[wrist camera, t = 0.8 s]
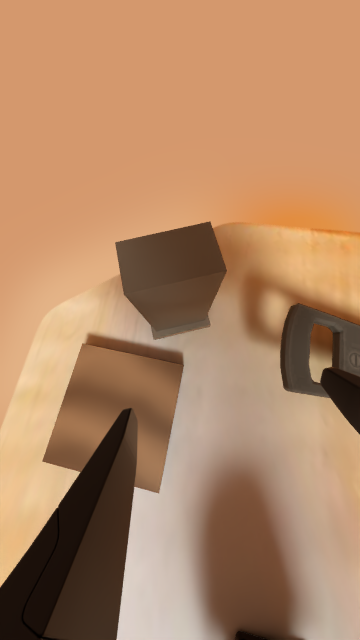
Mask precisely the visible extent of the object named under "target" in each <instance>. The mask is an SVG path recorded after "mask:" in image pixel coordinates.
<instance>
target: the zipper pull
mask: <svg viewBox="0 0 360 640" xmlns="http://www.w3.org/2000/svg"><path fill="white" fill-rule="evenodd" d="M314 323H315V324H318V325H322V326H326V327H328V328H329V329H330V330H331V331H332V332H333V356H332V367H336V368H338V369H341V370H344V371H346V372H349V373H352V374H354V375H357V376H360V325H357V324H355V323H352V322H349V321H346V320H343V319H341V318H338V317H336V316H333V315H330V314H328V313H325V312H322V311H319V310H316V309H313V308H311V307H308V306H305V305H302V304H299V303H298V304H296V305H293V306H291V308H290V310H289V312H288V315H287V317H286V320H285V323H284V328H283V333H282V340H281V351H280V368H281V374H282V380H283V387H284V389H285V390H286V391H290V392H296V393H302V394H308V395H314V396H320V397H327V398H330V397H329V395H328V394H327V393H326V391H325V390H324V389H323V387H322V386H321V383H317V382H314V381H313V380H312V379H311V374H310V368H309V354H310V338H311V331H312V328H313V325H314Z"/></svg>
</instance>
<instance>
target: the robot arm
mask: <svg viewBox="0 0 360 640" xmlns="http://www.w3.org/2000/svg"><path fill="white" fill-rule="evenodd" d="M320 383H321V386H322V387H323V389H324V390H325V391H326V393H327V394H328V395H329V397H330V398H331V399H332V401H333V402H334V403H335V405H336V406H337V407H338V409H339V410H340V412H341V413H342V414H343V415H344V417H345V418H346V419H347V420H348V422H349V423H350V424H351V425H352V426H353V427H354V429H355V430H356V431H357V432H358V433H359V434H360V376H357V375H354V374H352V373H349V372H346V371H344V370H341V369H338V368H336V367H329V368H325V369H324V370H323V372H322V376H321V380H320ZM137 441H138V420H137V417H136V415H135V412H134V410H133V408H126V409H123V410H122V411H121V413H120V414H119V416H118V417H117V419H116V420H115V422H114V423H113V425H112V426H111V428H110V429H109V431H108V432H107V434H106V435H105V437H104V438H103V440H102V441H101V443H100V444H99V446H98V447H97V449H96V450H95V451H94V453H93V454H92V456H91V457H90V459H89V460H88V462H87V463H86V465H85V466H84V468H83V469H82V471H81V472H80V474H79V475H78V477H77V478H76V480H75V481H74V483H73V484H72V486H71V487H70V489H69V490H68V492H67V493H66V495H65V496H64V498H63V499H62V501H61V502H60V504H59V506H58V508H56V510H55V511H54V512H53V514H52V515H51V517H50V518H49V520H48V521H47V523H46V524H45V526H44V527H43V529H42V530H41V532H40V533H39V535H38V536H37V537H36V539H35V540H34V542H33V543H32V545H31V546H30V548H29V549H28V550H27V552H26V553H25V554H24V556H23V557H22V558H21V560H20V561H19V563H18V564H17V565H16V567H15V568H14V569H13V571H12V572H11V574H10V575H9V576H8V578H7V579H6V580H5V582H4V583H3V584H2V586H1V587H0V640H116V639H117V630H118V622H119V613H120V604H121V596H122V587H123V579H124V570H125V562H126V553H127V545H128V536H129V527H130V519H131V510H132V502H133V493H134V485H135V476H136V467H137ZM235 640H266V639H263V638H260V637H257V636H254V635H251V634H248V633H245V632H241V631H239V632H238V633H237V634H236V637H235Z"/></svg>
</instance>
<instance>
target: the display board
mask: <svg viewBox="0 0 360 640" xmlns="http://www.w3.org/2000/svg"><path fill="white" fill-rule="evenodd" d="M183 367H184V365H181V364H177V363H172V362H167V361H163V360H158V359H153V358H148V357H144V356H139V355H134V354H130V353H125V352H120V351H116V350H111V349H106V348H102V347H97V346H92V345H87V344H83V343H82V346H81V349H80V352H79V355H78V358H77V361H76V364H75V367H74V370H73V373H72V376H71V379H70V382H69V385H68V387H67V390H66V393H65V396H64V399H63V402H62V405H61V408H60V411H59V414H58V417H57V420H56V423H55V426H54V429H53V432H52V435H51V437H50V440H49V443H48V446H47V449H46V452H45V455H44V458H43V462H46V463H50V464H54V465H57V466H61V467H65V468H68V469H72V470H76V471H79V472H81V471H82V469H83V468H84V466H85V465H86V463H87V462H88V460H89V459H90V457H91V456H92V454H93V453H94V451H95V450H96V449H97V447H98V446H99V444H100V443H101V441H102V440H103V438H104V437H105V435H106V434H107V432H108V431H109V429H110V428H111V426H112V425H113V423H114V422H115V420H116V419H117V417H118V416H119V414H120V413H121V411H122V410H123V409H126V408H133V410H134V412H135V415H136V417H137V420H138V441H137V467H136V476H135V485H134V487H138V488H141V489H145V490H149V491H152V492H156V493H159V490H160V485H161V480H162V475H163V470H164V465H165V459H166V454H167V449H168V444H169V439H170V434H171V429H172V423H173V418H174V413H175V408H176V403H177V398H178V393H179V387H180V382H181V377H182V372H183Z"/></svg>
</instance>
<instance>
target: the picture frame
mask: <svg viewBox="0 0 360 640" xmlns="http://www.w3.org/2000/svg"><path fill="white" fill-rule="evenodd" d="M115 244H116V250H117V255H118V262H119V268H120V273H121V279H122V285H123V291H124V295H125V296H126V297H127V298H128V299H129V301H130V302H131V303H132V304H133V305H134V306H135V308H136V309H137V310H138V311H139V312H140V313H141V314H142V316H143V317H144V318H145V319H146V320H147V321H148V322H149V324H150V325H151V328H152V333H153V338H154V339H155V340H156V339H160V338H164V337H169V336H173V335H177V334H181V333H185V332H189V331H194V330H198V329H202V328H206V327H210V321H209V318H208V312H209V310H210V307H211V305H212V303H213V301H214V298H215V296H216V294H217V292H218V289H219V287H220V285H221V283H222V280H223V278H224V276H225V274H226V271H227V270H226V267H225V264H224V261H223V258H222V255H221V252H220V249H219V246H218V243H217V240H216V237H215V234H214V231H213V228H212V226H211V223H210V222H206V223H201V224H197V225H193V226H188V227H183V228H179V229H174V230H170V231H165V232H161V233H156V234H152V235H147V236H142V237H138V238H133V239H129V240H124V241H120V242H116V243H115Z"/></svg>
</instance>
